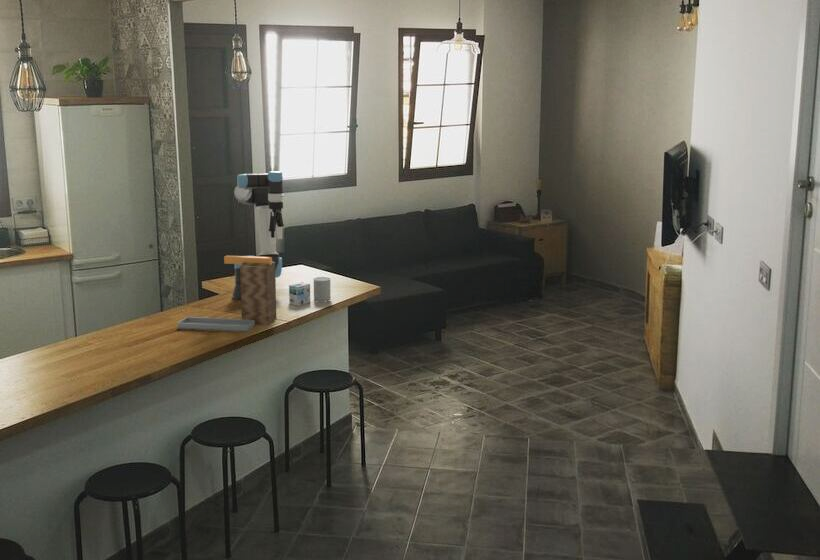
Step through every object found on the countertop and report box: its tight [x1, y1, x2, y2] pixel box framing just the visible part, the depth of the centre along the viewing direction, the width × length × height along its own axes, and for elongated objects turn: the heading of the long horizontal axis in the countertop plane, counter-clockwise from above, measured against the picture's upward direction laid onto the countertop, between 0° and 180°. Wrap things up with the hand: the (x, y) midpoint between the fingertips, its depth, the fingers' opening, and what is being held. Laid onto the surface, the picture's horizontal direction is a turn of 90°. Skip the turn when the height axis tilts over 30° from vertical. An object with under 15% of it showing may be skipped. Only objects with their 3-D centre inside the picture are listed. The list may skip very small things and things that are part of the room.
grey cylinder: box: [312, 276, 332, 303], centre depth 492 cm, size 10×10×12 cm
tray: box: [176, 316, 256, 333], centre depth 437 cm, size 36×12×3 cm, turn 82°
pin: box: [223, 255, 272, 265], centre depth 443 cm, size 24×4×4 cm, turn 82°
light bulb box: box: [288, 281, 311, 306], centre depth 485 cm, size 11×7×11 cm, turn 143°
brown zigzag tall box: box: [240, 261, 277, 326], centre depth 446 cm, size 14×14×31 cm
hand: (276, 241), depth 460 cm, fingers open, 13 cm apart
